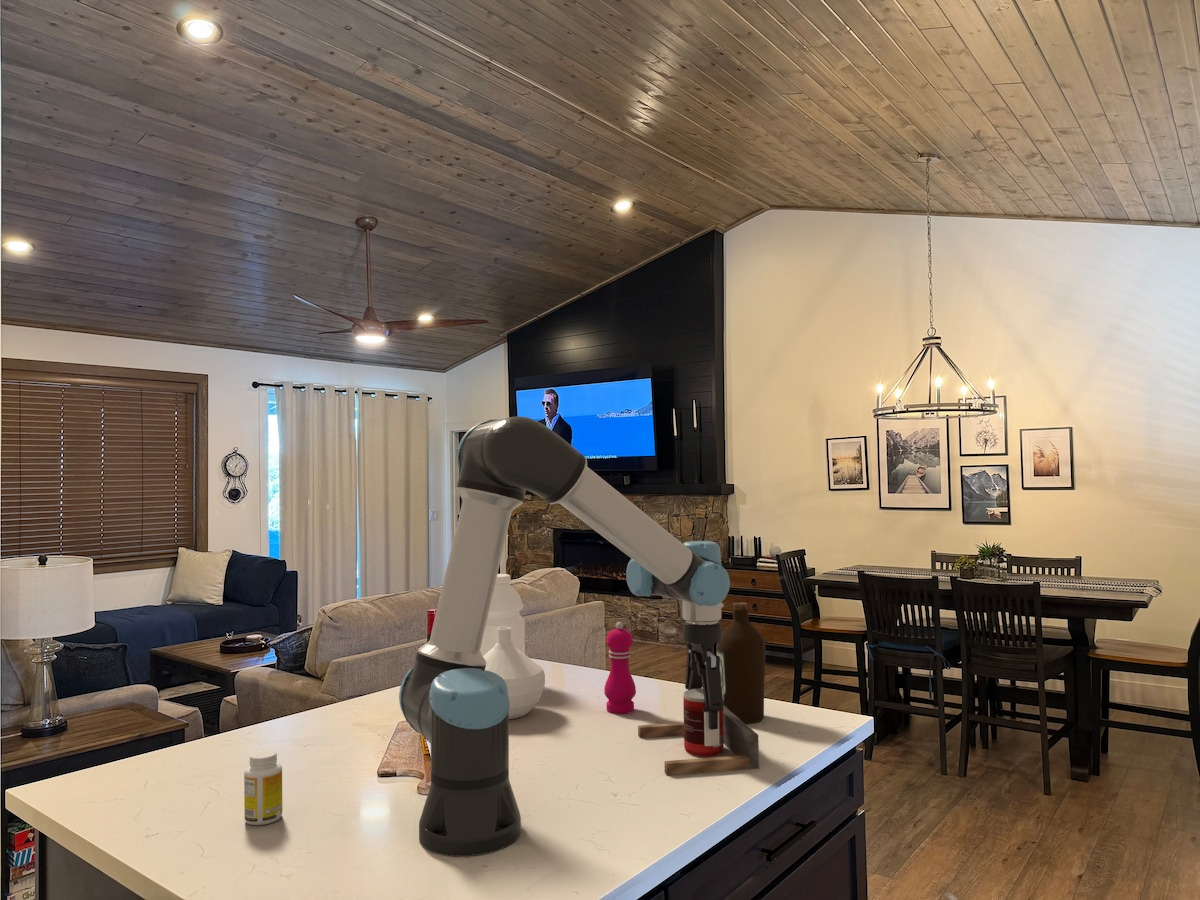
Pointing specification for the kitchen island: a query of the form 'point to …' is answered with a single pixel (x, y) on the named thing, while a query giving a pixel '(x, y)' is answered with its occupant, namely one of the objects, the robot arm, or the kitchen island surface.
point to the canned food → (698, 725)
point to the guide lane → (735, 739)
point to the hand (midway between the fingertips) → (703, 736)
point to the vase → (516, 674)
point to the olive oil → (742, 667)
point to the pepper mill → (619, 672)
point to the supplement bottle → (263, 788)
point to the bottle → (504, 615)
